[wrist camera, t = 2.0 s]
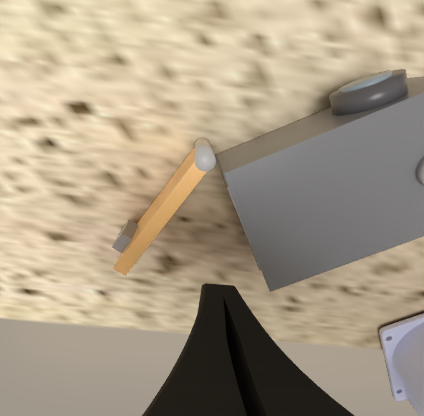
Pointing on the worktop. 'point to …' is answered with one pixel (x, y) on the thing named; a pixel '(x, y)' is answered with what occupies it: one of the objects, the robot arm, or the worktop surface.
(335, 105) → the camera body
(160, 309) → the worktop surface
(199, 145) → the side door
